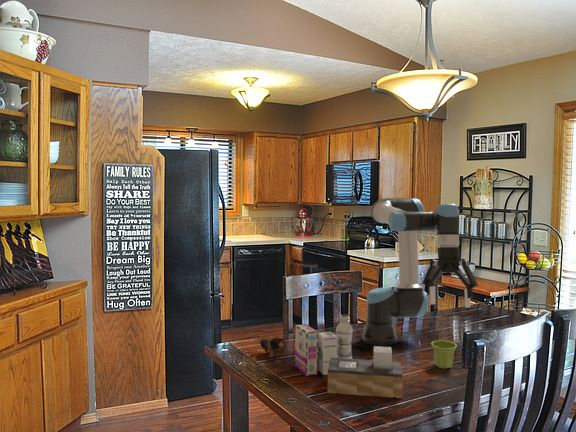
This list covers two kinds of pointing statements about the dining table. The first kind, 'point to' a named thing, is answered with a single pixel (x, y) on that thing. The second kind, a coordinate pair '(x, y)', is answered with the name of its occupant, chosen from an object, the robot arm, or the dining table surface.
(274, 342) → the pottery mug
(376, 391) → the socket block
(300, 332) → the candy bar box
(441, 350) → the plant pot
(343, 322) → the plastic bottle
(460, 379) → the dining table surface
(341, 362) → the seated peg
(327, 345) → the syrup box
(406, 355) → the dining table surface
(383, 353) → the peg
